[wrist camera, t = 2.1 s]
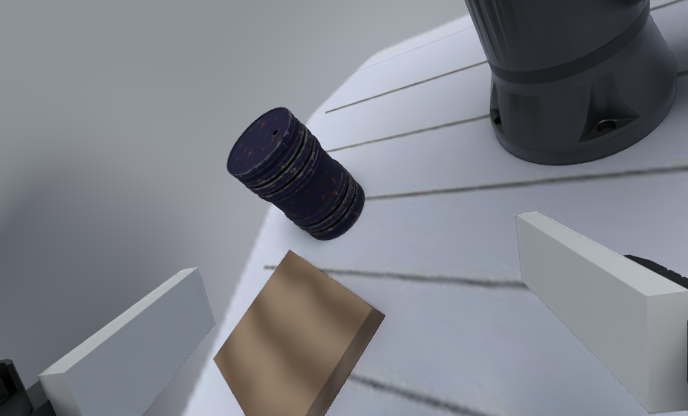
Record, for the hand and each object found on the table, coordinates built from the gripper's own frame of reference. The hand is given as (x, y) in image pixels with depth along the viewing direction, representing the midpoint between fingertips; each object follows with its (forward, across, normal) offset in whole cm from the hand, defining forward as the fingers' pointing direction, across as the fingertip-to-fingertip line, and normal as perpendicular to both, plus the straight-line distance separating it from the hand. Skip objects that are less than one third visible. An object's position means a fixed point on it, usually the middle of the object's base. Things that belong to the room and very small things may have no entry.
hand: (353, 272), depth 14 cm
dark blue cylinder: (+34, -6, -4) cm, 34 cm away
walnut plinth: (+21, -11, -16) cm, 29 cm away
